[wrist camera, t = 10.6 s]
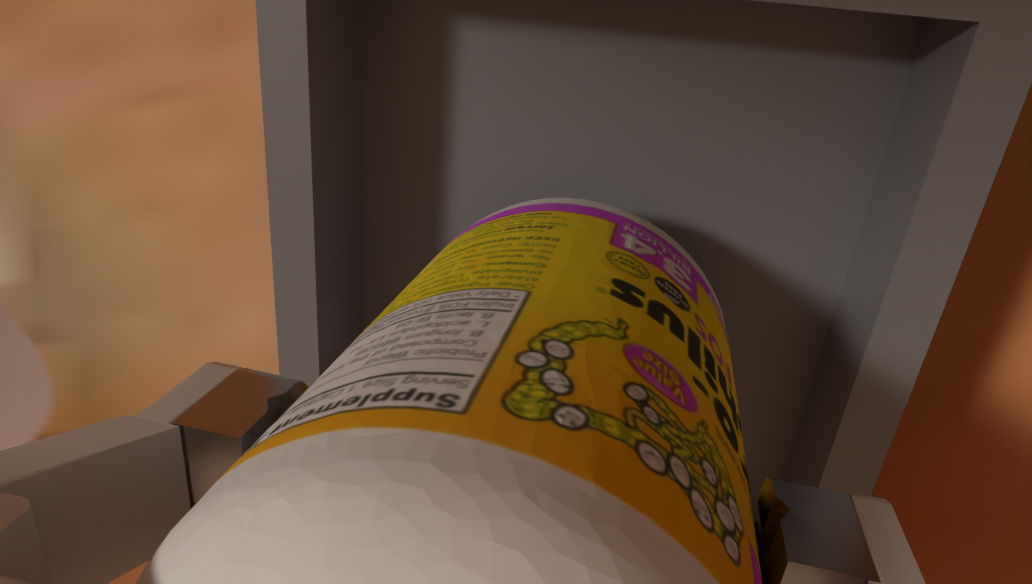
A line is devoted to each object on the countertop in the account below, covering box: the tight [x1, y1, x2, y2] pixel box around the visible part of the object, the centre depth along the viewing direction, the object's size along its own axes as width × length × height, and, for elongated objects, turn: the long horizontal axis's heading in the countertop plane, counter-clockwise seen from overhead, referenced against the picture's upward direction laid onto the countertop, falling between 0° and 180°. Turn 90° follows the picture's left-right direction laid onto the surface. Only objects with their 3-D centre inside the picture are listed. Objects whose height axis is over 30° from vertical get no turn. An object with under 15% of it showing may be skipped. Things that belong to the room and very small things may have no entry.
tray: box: [256, 0, 1032, 523], centre depth 15 cm, size 15×13×3 cm
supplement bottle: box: [136, 198, 762, 584], centre depth 9 cm, size 7×7×13 cm
